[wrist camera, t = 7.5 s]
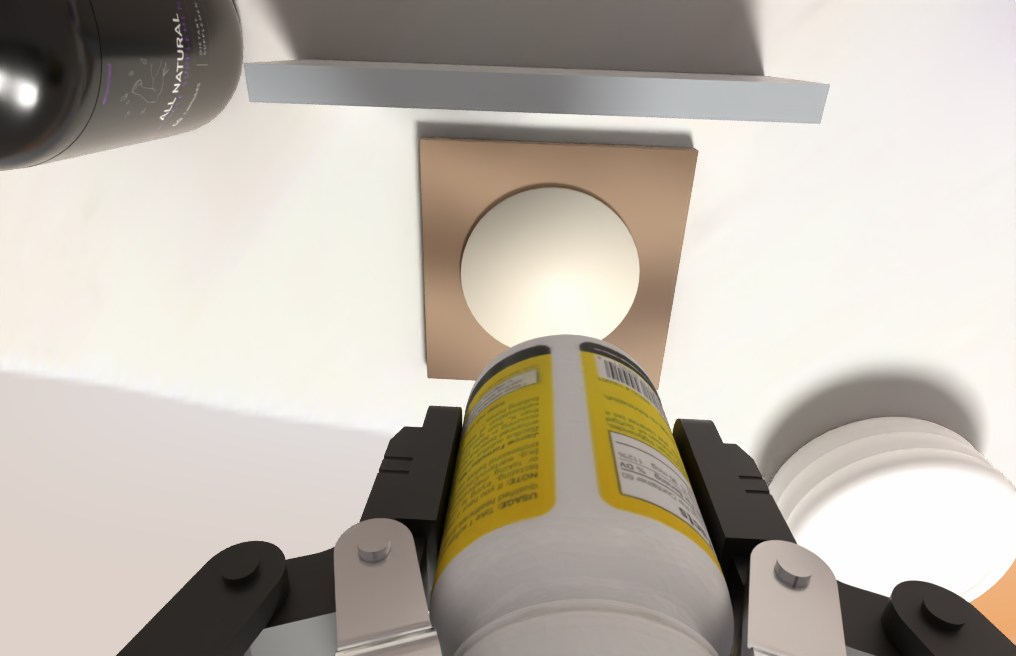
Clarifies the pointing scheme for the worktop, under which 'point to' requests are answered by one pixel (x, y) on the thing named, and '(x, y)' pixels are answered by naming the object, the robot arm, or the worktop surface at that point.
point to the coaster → (900, 506)
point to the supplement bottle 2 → (574, 517)
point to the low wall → (537, 90)
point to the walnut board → (549, 246)
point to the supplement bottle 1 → (110, 73)
